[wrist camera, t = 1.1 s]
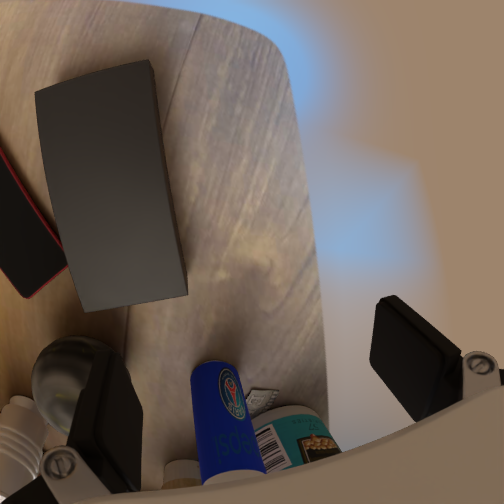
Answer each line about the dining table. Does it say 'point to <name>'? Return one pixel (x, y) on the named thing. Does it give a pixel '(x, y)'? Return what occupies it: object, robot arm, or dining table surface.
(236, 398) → the beverage can
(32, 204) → the smartphone
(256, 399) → the snack bar
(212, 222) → the dining table surface
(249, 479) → the robot arm
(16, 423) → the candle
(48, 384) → the decorative stone
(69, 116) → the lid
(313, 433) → the food can
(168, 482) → the coffee cup
